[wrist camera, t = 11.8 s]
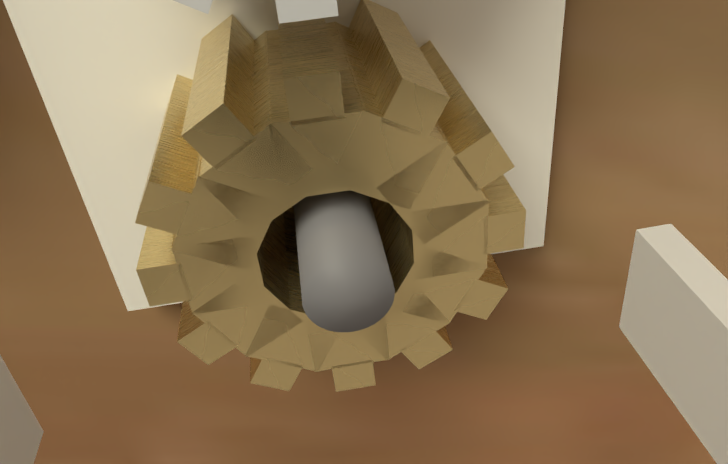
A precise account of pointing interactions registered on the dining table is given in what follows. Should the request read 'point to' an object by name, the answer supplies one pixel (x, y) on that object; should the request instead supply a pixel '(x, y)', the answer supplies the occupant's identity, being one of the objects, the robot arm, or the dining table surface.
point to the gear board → (256, 14)
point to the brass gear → (321, 176)
